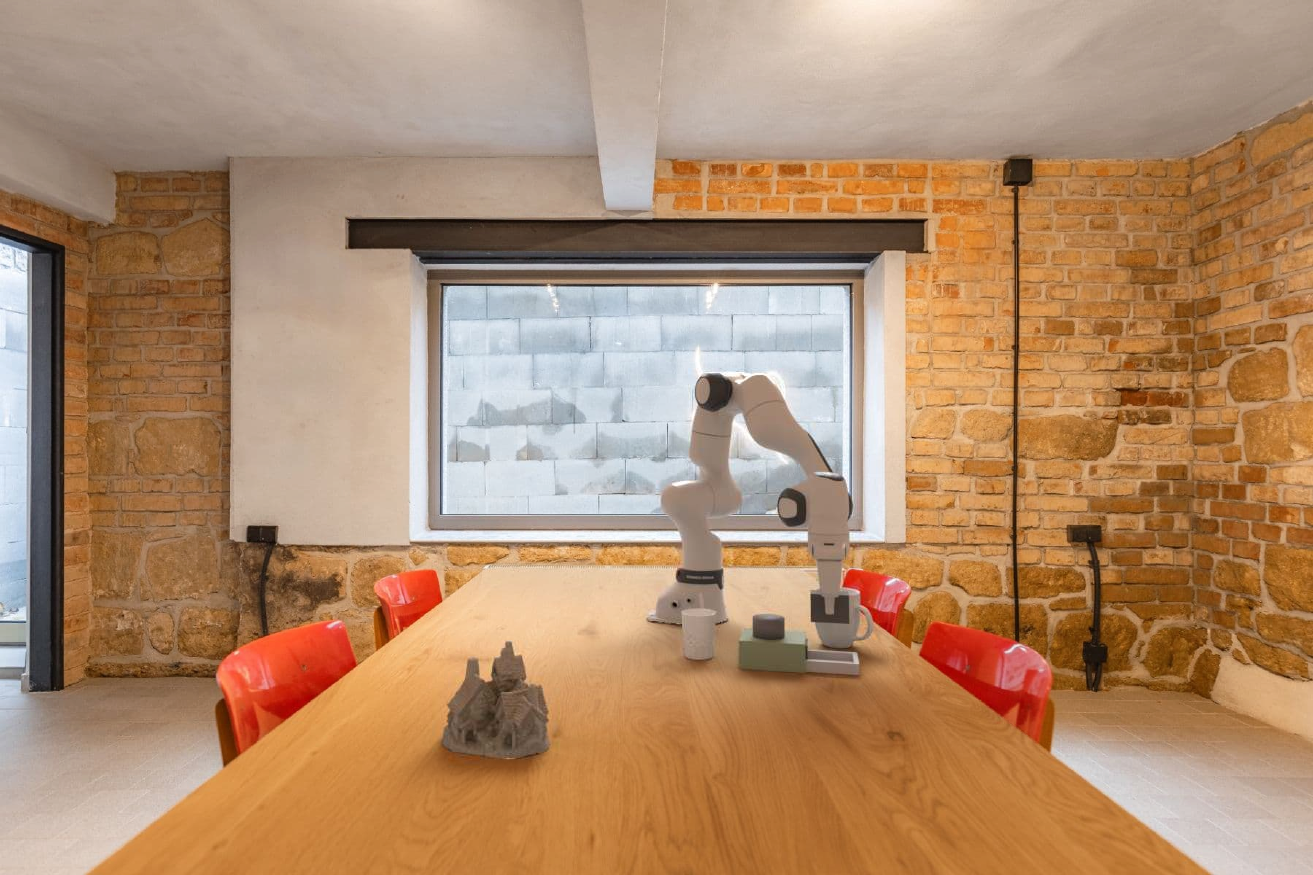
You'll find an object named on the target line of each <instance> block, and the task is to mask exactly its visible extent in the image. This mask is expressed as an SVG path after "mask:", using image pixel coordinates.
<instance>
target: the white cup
mask: <svg viewBox="0 0 1313 875" xmlns="http://www.w3.org/2000/svg"><path fill="white" fill-rule="evenodd" d="M716 624H717V623H716V612H715V611H713V610H710V609H700V608H695V609H686V610H683V611H682V625H681V627H682V628H681V631H682V633H681V634H682V644H683V656H684V658H687V659H688V660H698V661H699V660H700V661H703V660H705V661H706V660H709V659H712V658H713V657H714V655H715V652H714V651H715V641H716V640H715V636H716Z"/></svg>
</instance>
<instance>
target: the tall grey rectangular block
mask: <svg viewBox="0 0 1313 875" xmlns="http://www.w3.org/2000/svg"><path fill="white" fill-rule="evenodd" d="M809 601H810V623H815V622H820V623H840V624H849V593H848V591H840V592H839V596H838V597H835V601H834V614H826V613H825V599H824V597H822V596H821V593H820V590H814V589H810V600H809Z"/></svg>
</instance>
